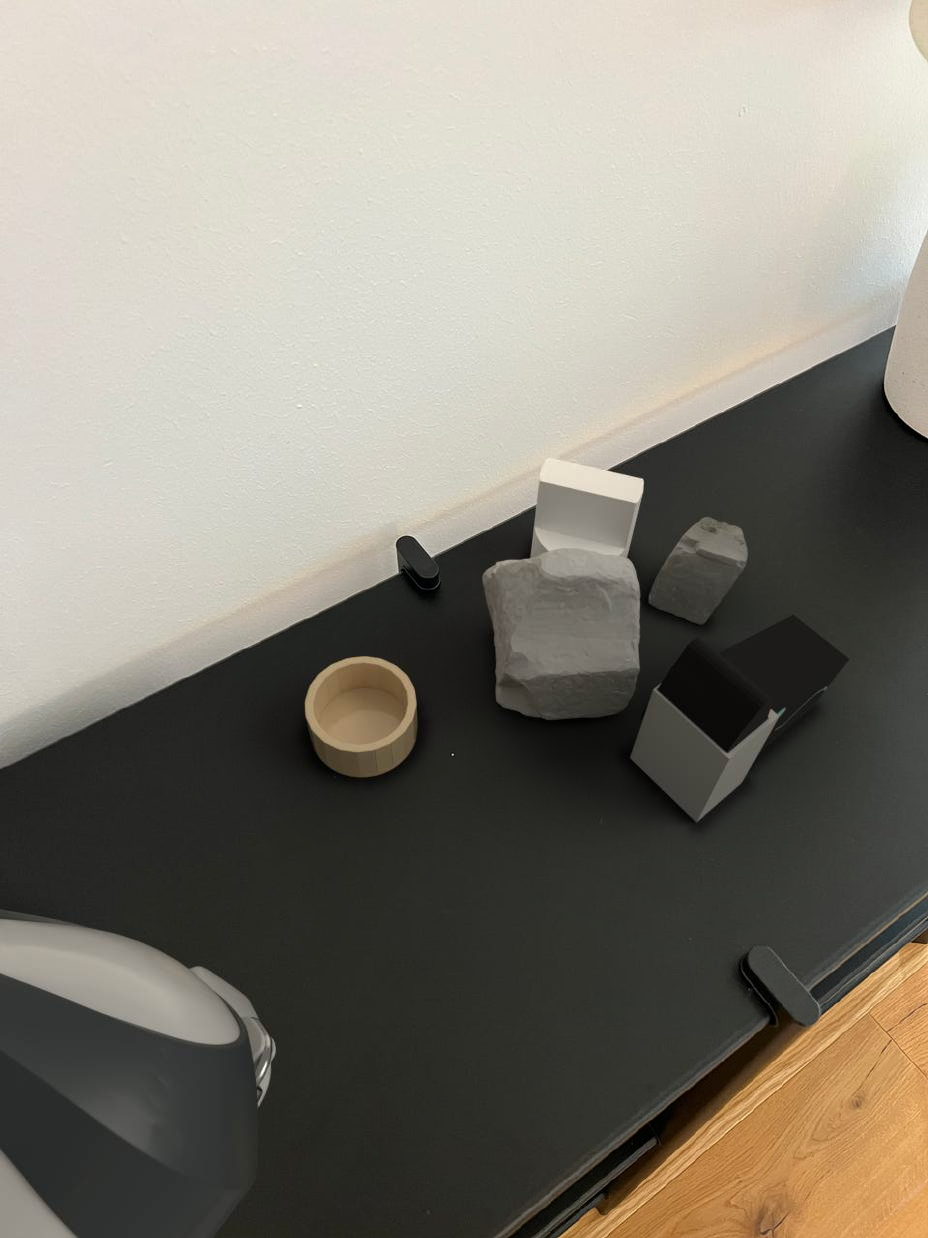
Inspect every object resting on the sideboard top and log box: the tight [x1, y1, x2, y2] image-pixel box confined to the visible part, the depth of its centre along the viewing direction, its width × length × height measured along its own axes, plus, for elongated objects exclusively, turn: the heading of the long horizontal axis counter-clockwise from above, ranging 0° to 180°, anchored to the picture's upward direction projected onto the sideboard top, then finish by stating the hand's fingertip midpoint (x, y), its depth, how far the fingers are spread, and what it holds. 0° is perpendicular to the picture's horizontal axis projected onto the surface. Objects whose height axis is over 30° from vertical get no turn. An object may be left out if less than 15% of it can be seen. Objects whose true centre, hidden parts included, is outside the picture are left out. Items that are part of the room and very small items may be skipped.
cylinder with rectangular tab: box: [529, 457, 645, 559], centre depth 87 cm, size 9×9×12 cm
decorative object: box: [629, 614, 850, 823], centre depth 76 cm, size 8×18×15 cm, turn 130°
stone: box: [481, 548, 641, 721], centre depth 79 cm, size 12×12×15 cm
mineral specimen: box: [648, 516, 749, 625], centre depth 87 cm, size 7×9×8 cm
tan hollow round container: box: [304, 655, 418, 778], centre depth 79 cm, size 9×9×4 cm
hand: (55, 1115), depth 46 cm, fingers open, 8 cm apart
